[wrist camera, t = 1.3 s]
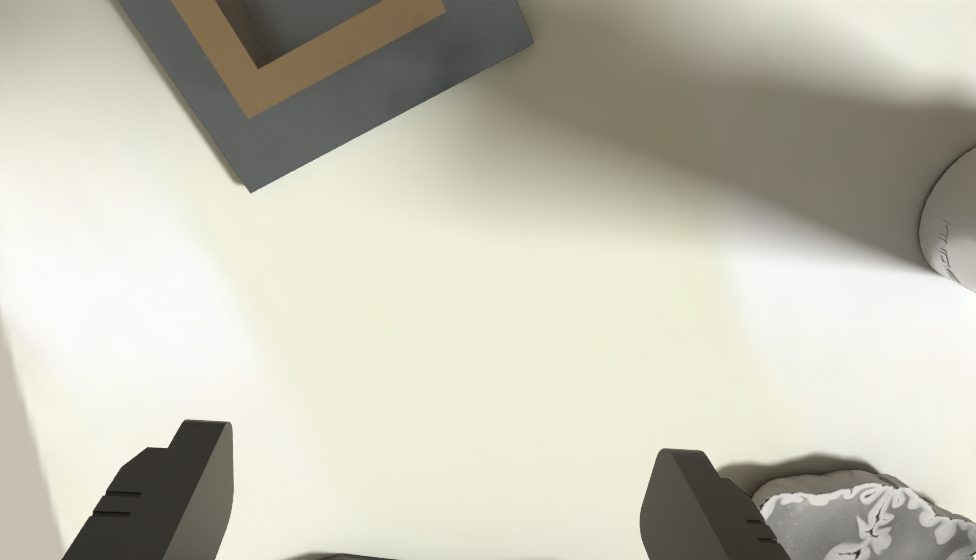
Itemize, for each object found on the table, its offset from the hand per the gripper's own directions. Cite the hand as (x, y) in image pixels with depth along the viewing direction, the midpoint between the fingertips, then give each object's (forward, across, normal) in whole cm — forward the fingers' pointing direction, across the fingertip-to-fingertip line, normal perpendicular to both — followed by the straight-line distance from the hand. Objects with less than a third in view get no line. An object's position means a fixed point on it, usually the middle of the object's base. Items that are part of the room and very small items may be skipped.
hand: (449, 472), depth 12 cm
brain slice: (+25, -32, +26) cm, 48 cm away
